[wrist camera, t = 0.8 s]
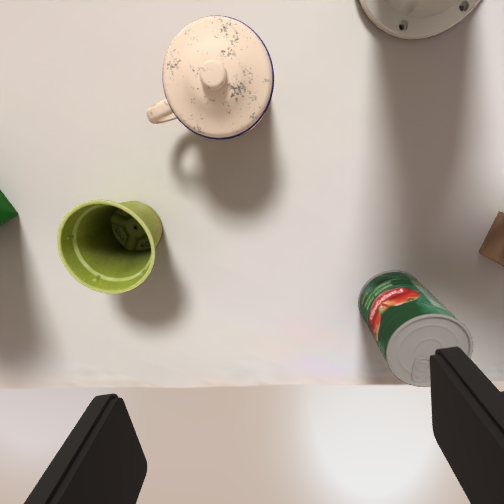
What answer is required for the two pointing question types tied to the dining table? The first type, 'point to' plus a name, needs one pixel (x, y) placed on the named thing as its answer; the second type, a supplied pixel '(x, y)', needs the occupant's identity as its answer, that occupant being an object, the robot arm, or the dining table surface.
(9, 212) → the milk carton
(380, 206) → the dining table surface
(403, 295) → the canned tomato
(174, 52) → the teacup with lid
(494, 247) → the walnut block
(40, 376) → the dining table surface
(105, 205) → the plant pot
